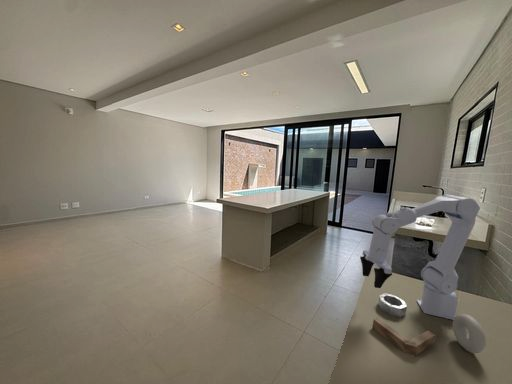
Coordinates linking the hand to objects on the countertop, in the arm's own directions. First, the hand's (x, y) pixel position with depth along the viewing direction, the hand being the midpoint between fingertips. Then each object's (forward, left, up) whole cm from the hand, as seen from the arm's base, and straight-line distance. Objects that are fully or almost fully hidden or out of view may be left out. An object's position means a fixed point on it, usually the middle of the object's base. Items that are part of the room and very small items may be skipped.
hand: (371, 281), depth 80 cm
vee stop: (-8, +15, -10) cm, 20 cm away
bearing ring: (-8, -1, -10) cm, 13 cm away
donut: (-25, +10, -10) cm, 29 cm away
